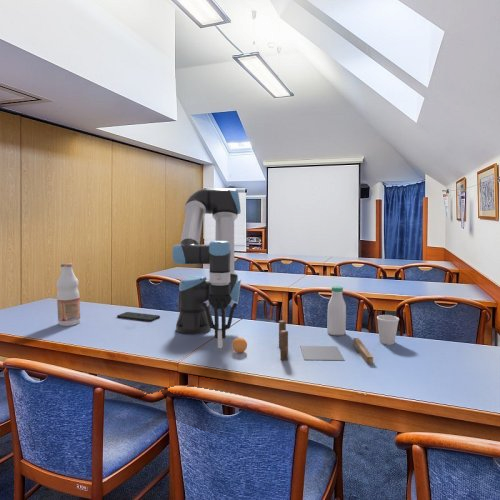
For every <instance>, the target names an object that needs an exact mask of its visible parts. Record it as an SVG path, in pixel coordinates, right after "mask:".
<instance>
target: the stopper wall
mask: <svg viewBox="0 0 500 500" xmlns="http://www.w3.org/2000/svg"><path fill="white" fill-rule="evenodd" d="M352 342H353V346H354V347H355V349H356V350H357V352H358V353H359V355H360V356H361V357H362V359H363V360H364V362H365V363H366V364H367V365H374V357H373V355H372V353H371V352H370V351H369V350H368V348H367V347H366V346H365V344H364V343H363V342H362V341H361V339H360V338H359V337H355V338H354V337H353V340H352Z"/></svg>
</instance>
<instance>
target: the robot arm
mask: <svg viewBox="0 0 500 500" xmlns="http://www.w3.org/2000/svg"><path fill="white" fill-rule="evenodd" d="M239 195H240V194H239V191H238V190H237V189H236V188H228V187H227V188H208V187H207V188H201V189H199V190H197V191H195V192H193V193H192V195H190V196H189V198H188V199H187V200H186V203H185V204H184V213H185V216H184V222H183V227H182V232H181V235H180V236H181V237H180V242H179V243H178V244H174V245H173V247H172V254H171V255H172V261H173V263H174V264H177V265H178V264H179V265H203V264H204V265H209V270H208V271H209V278H207V276H206V275H193V276H188V277H185V278H182V279H181V280H180V281H179V290H178V292H179V314H178V318H177V320H176V323H175V325H176V326H175V331H176V332H178V333H180V334H184V335H196V334H197V335H198V334H203V333H206V332H208V331H209V332H210V330H211V329H213V330H214V339H217V349H222V348H223V347H224V343H223V342H224V341H223V340H224V339H225V338H226V336H227V335H226V334H227V333H226V330H229V329H230V328H231V326H232V322H233V317H234V313H235V310H236V308H237V306H238V303H239V298H240V292H241V283H242V279H240V278H239V277H238V275H239V274H238V273H236V272H235V221H236V220H237V219H238V217H239V214H242V213H241V202H240V196H239ZM206 214H209V215H210V214H211V215H212V218H213V219H214V221H215V228H214V229H215V235H214V236H215V237H214V238H215V240H211V241H210V242H209V244H200V242H201V235H202V229H203V228H202V226H203V218H204V216H205V215H206ZM229 306H230V307H231V308H230V310H229V311H230V312H229V315H228V320H226V319H227V318H226V317H227V314H226V312H227V311H226V310H227V307H229ZM210 307H212V308H213V310H214V314H213V315H214V316H212V312H211V308H210ZM219 311H220V312H221V328H220V325H219V324H220V323H219V322H220V320H219V318H220V317H219V316H220V315H219V314H220V313H219ZM213 317H214V319H213ZM226 321H227V323H226Z"/></svg>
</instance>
